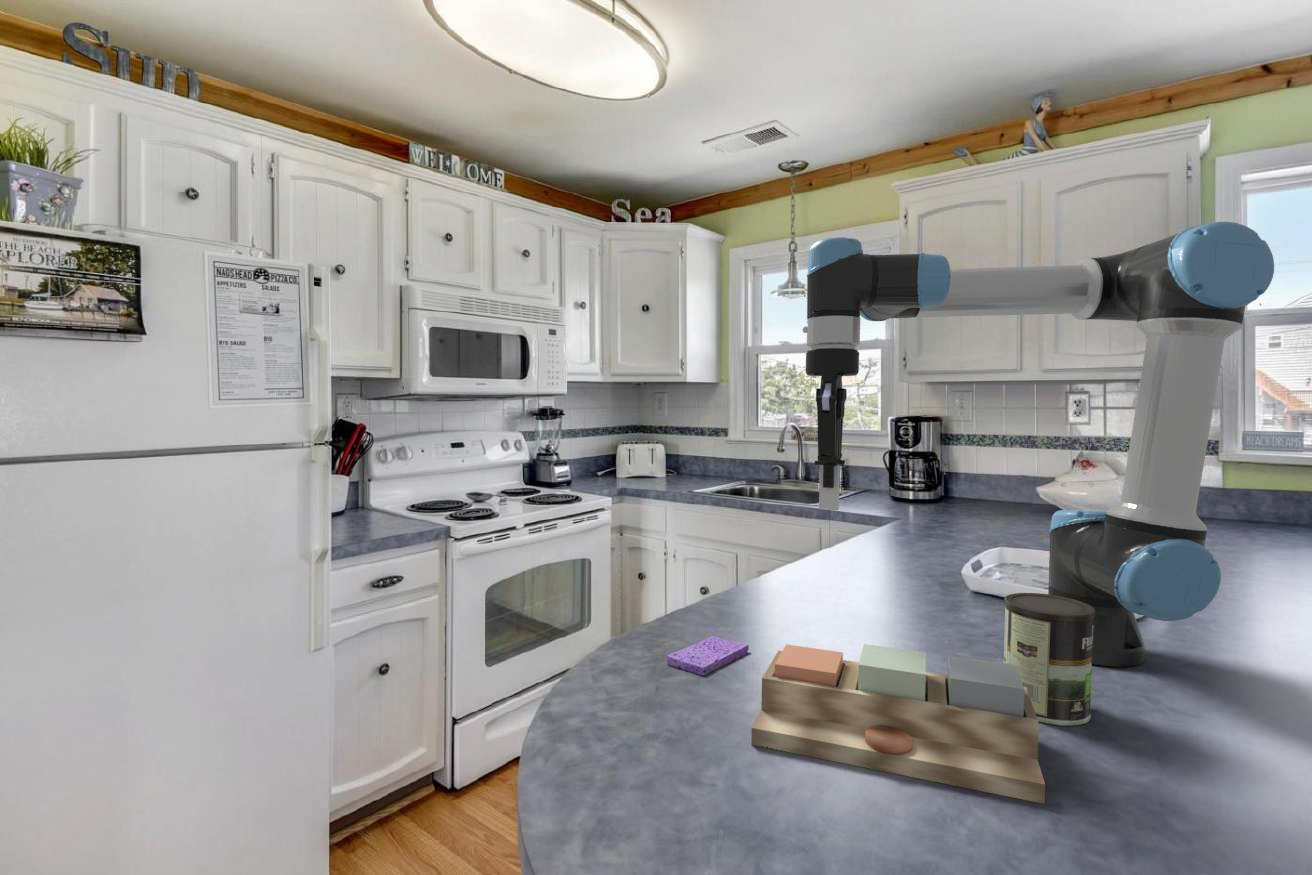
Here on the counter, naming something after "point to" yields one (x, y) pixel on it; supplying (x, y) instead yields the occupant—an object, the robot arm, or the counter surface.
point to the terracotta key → (810, 665)
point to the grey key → (985, 686)
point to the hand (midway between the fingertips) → (828, 508)
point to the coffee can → (1052, 654)
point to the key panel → (903, 733)
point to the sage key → (892, 672)
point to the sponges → (707, 655)
